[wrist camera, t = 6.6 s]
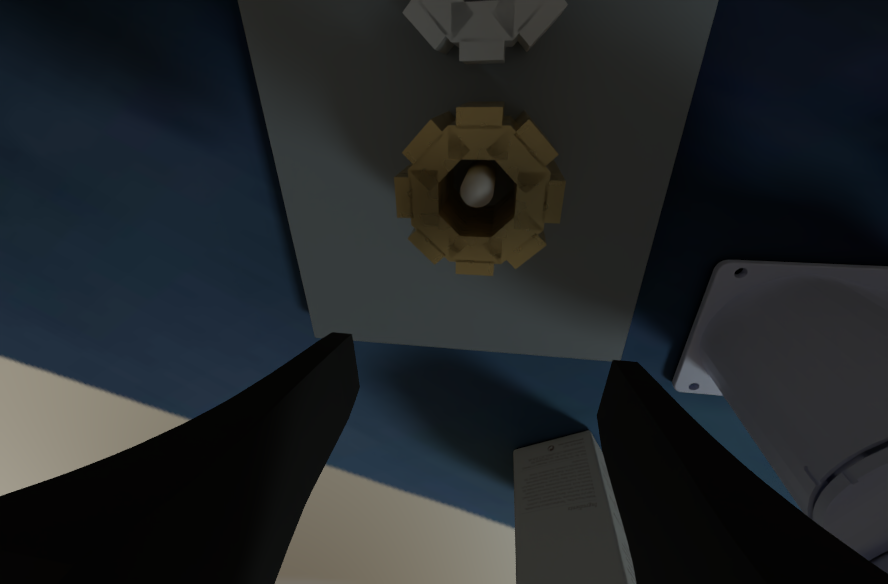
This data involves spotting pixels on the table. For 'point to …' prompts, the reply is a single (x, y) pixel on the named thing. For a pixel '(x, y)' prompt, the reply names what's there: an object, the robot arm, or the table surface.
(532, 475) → the small box
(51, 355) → the table surface
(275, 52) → the gear board
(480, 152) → the brass gear
